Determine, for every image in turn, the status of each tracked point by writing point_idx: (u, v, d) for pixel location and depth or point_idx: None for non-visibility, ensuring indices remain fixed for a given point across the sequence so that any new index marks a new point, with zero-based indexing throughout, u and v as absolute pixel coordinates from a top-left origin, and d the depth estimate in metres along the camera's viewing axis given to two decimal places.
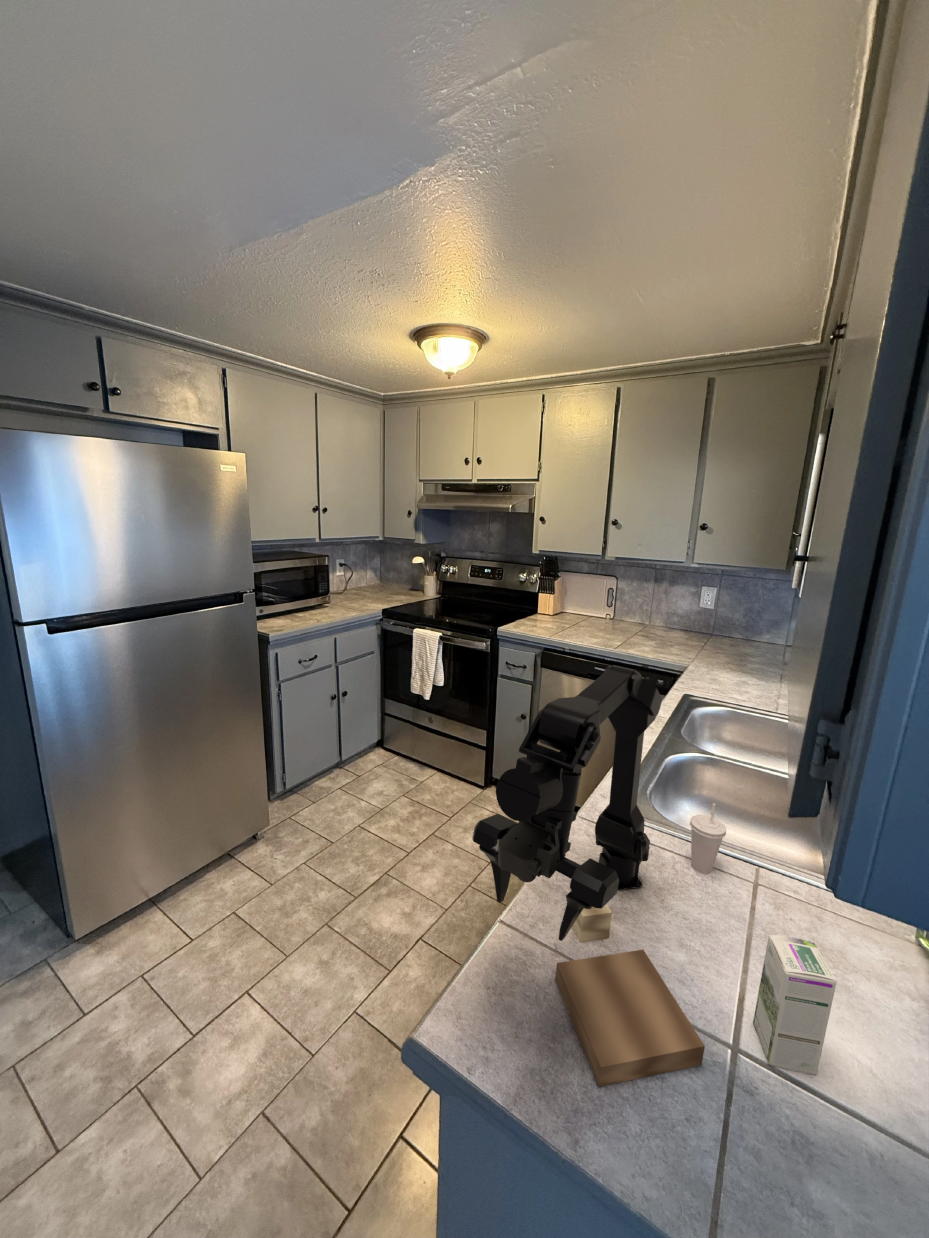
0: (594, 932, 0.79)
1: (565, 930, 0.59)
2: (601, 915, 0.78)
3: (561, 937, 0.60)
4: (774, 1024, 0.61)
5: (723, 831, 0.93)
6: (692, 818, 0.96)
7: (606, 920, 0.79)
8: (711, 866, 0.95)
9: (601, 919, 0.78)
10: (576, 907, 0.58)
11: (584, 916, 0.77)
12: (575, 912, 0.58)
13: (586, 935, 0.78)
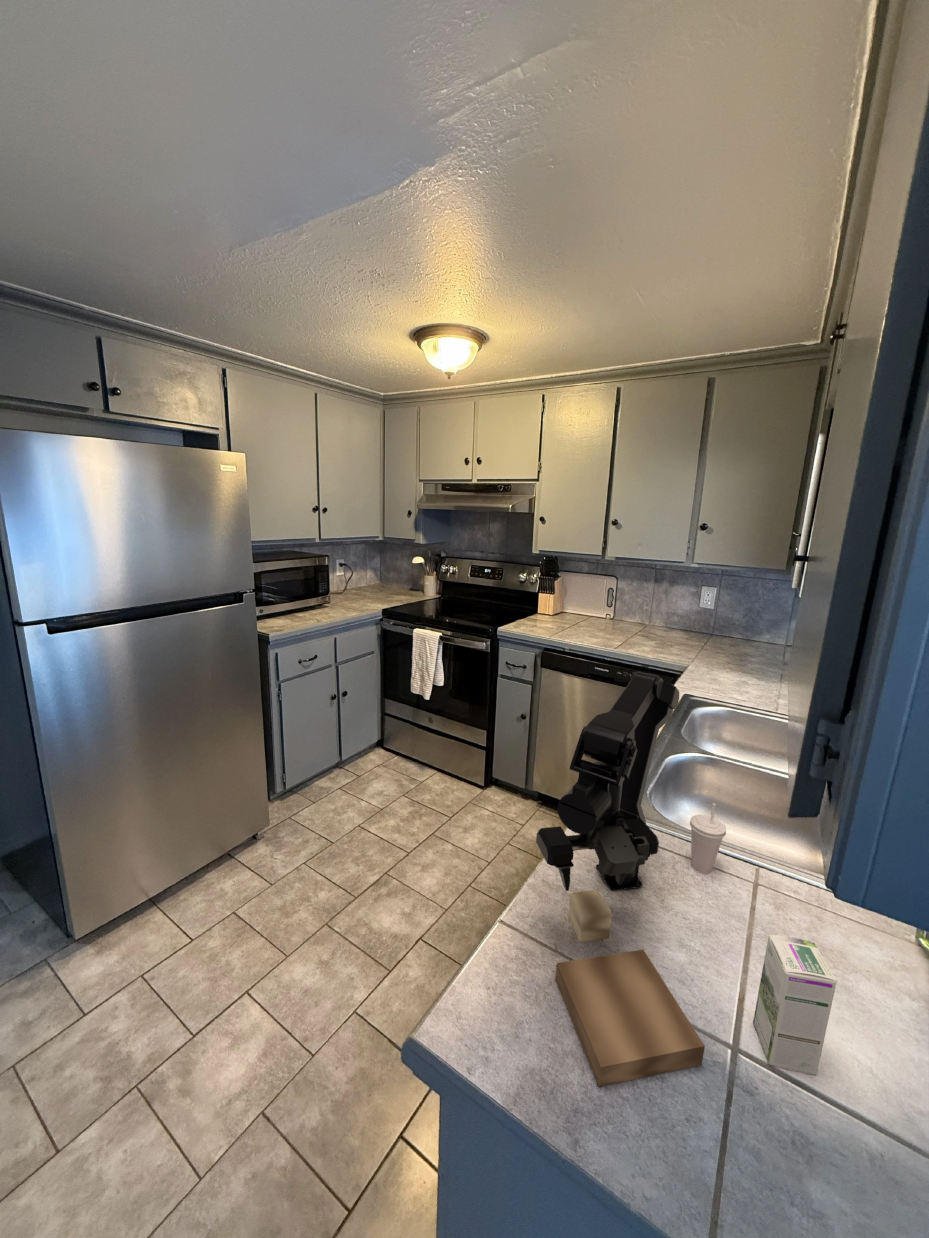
0: (594, 932, 0.79)
1: (625, 876, 0.80)
2: (601, 914, 0.78)
3: (621, 882, 0.80)
4: (774, 1024, 0.61)
5: (723, 831, 0.93)
6: (692, 818, 0.96)
7: (606, 920, 0.79)
8: (711, 866, 0.95)
9: (601, 919, 0.78)
10: None
11: (584, 916, 0.77)
12: None
13: (586, 935, 0.78)
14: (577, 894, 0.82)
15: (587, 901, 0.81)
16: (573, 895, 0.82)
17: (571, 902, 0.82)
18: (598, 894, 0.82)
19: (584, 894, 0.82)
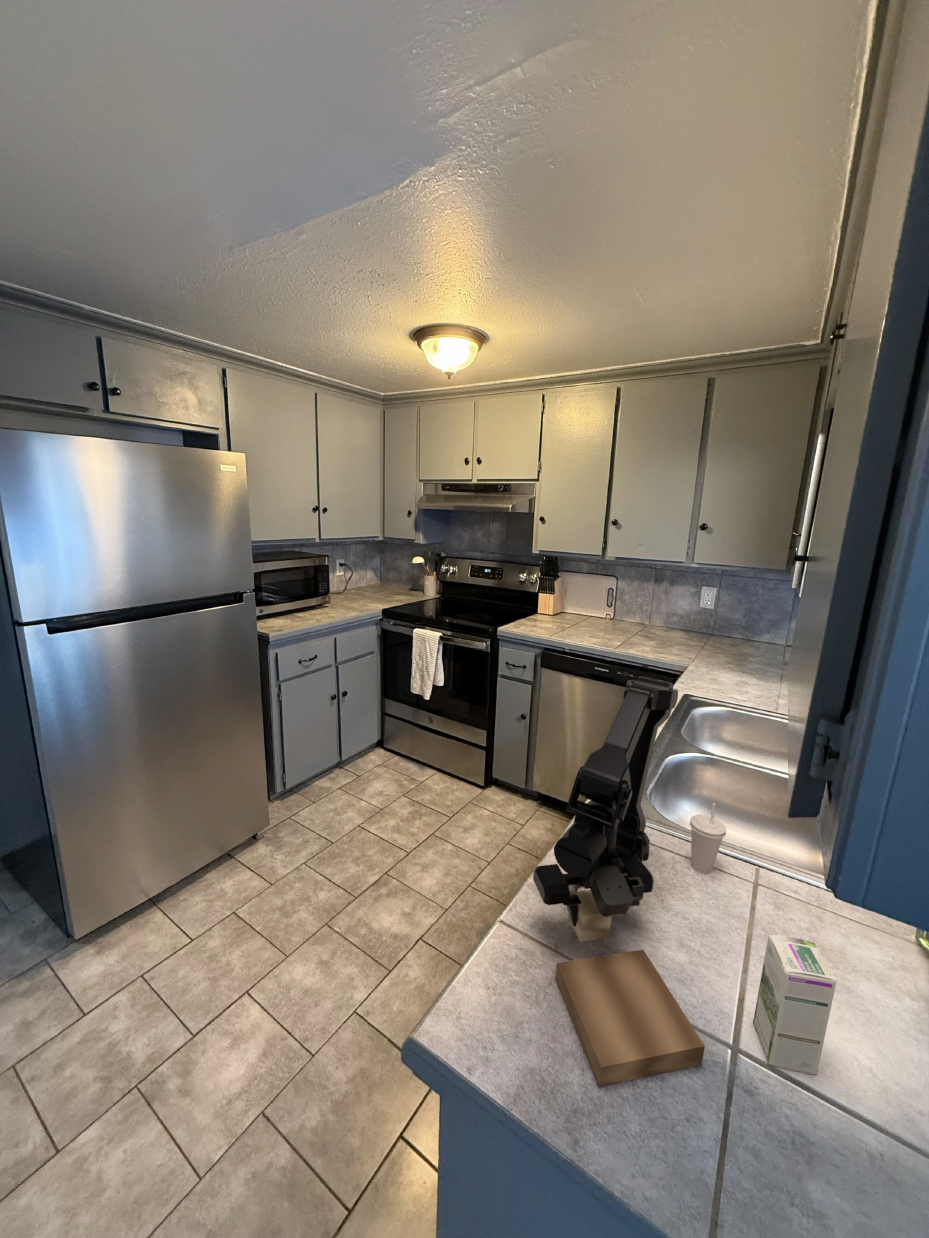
0: (594, 932, 0.79)
1: None
2: None
3: None
4: (774, 1024, 0.61)
5: (723, 831, 0.93)
6: (692, 818, 0.96)
7: (606, 920, 0.78)
8: (711, 866, 0.95)
9: (601, 919, 0.78)
10: None
11: (584, 915, 0.77)
12: None
13: (586, 934, 0.78)
14: (577, 893, 0.82)
15: (587, 900, 0.81)
16: None
17: None
18: None
19: (584, 894, 0.82)
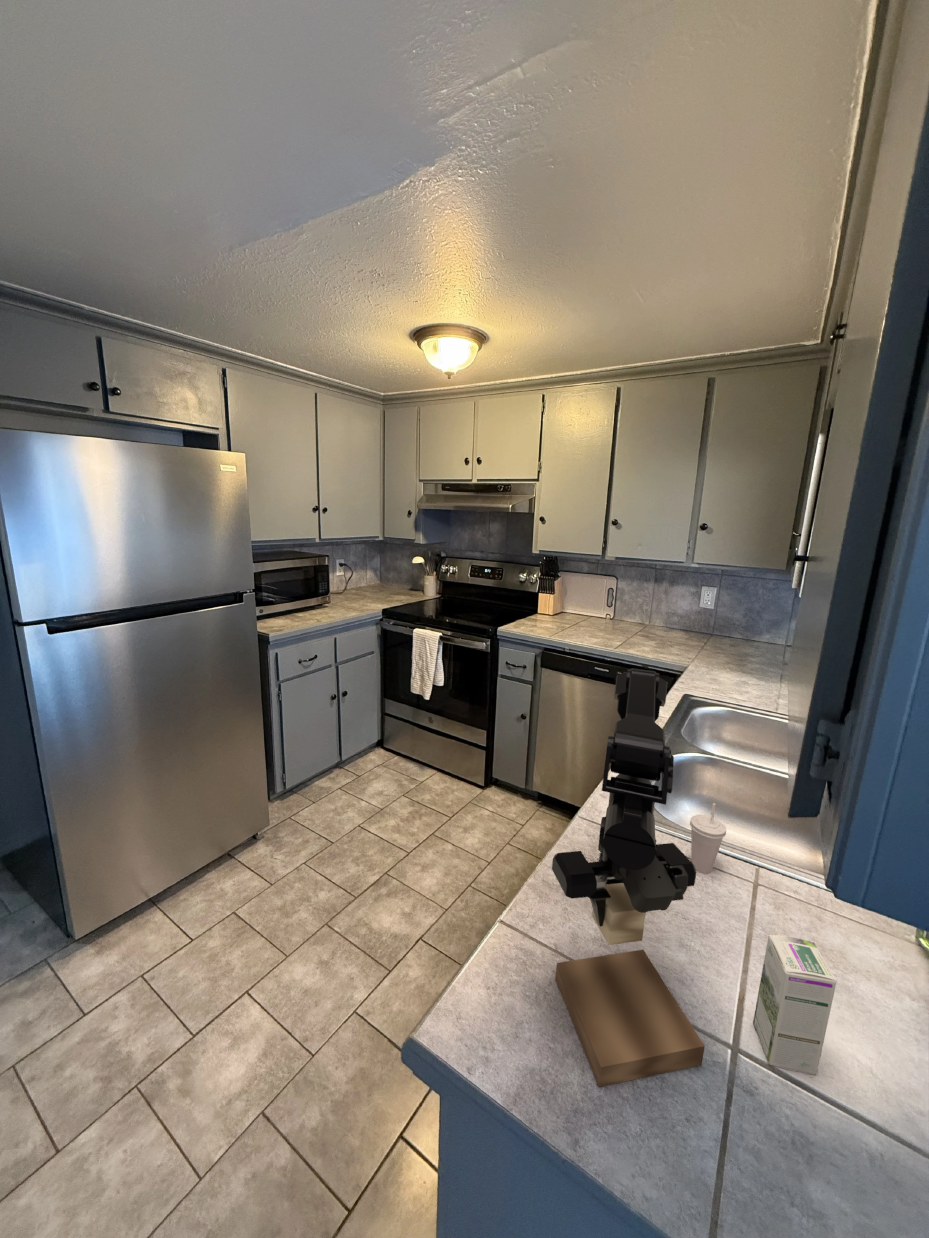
0: (625, 933, 0.66)
1: None
2: (634, 911, 0.65)
3: None
4: (774, 1024, 0.61)
5: (723, 831, 0.93)
6: (692, 818, 0.96)
7: (639, 918, 0.66)
8: (711, 866, 0.95)
9: (633, 917, 0.65)
10: None
11: (614, 912, 0.65)
12: None
13: (615, 936, 0.66)
14: None
15: (616, 895, 0.68)
16: None
17: None
18: None
19: (612, 887, 0.69)
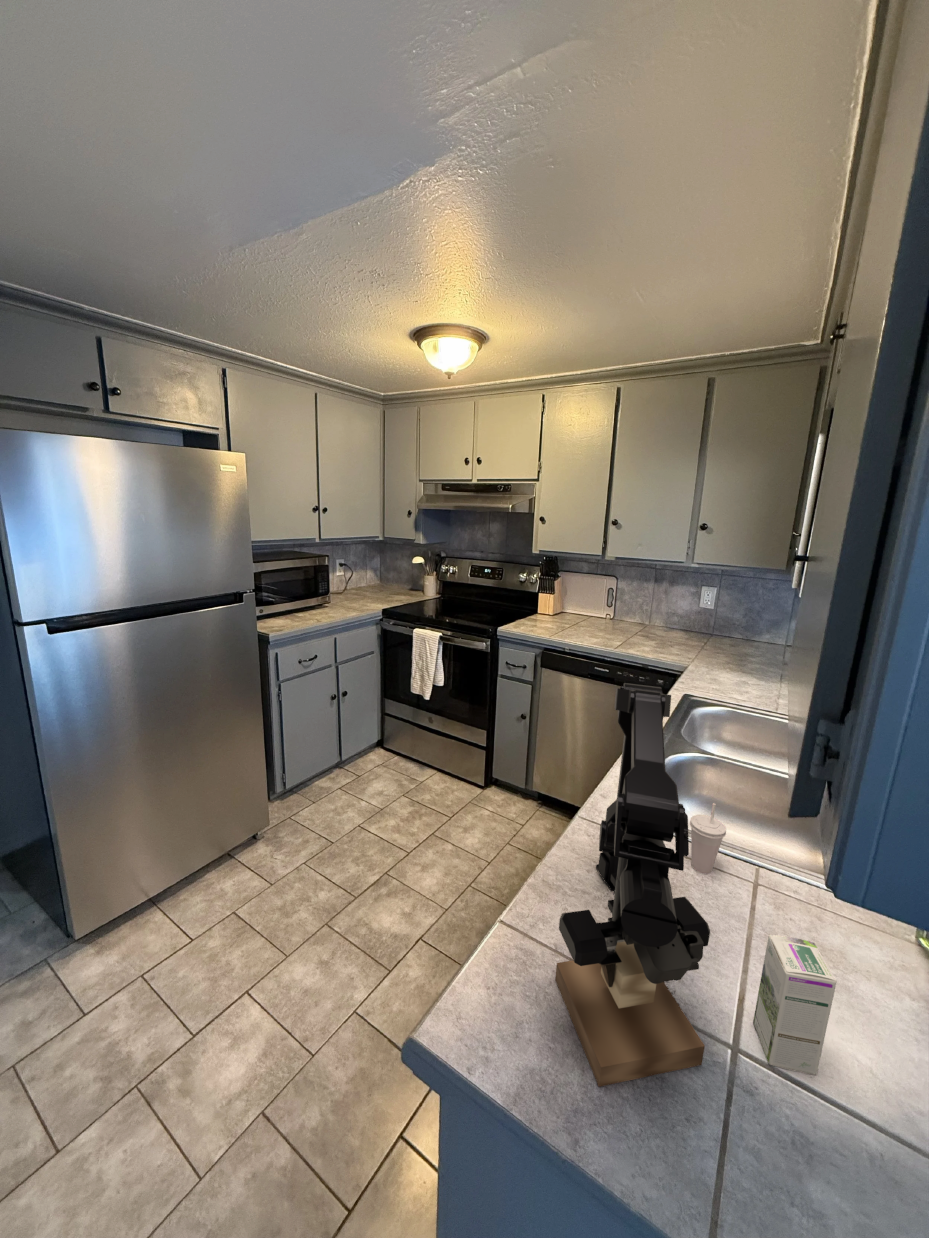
0: (636, 995, 0.63)
1: None
2: None
3: None
4: (774, 1024, 0.61)
5: (723, 831, 0.93)
6: (692, 818, 0.96)
7: None
8: (711, 866, 0.95)
9: (645, 979, 0.62)
10: None
11: (625, 976, 0.62)
12: None
13: (626, 999, 0.63)
14: None
15: (626, 954, 0.65)
16: None
17: None
18: None
19: (621, 945, 0.66)
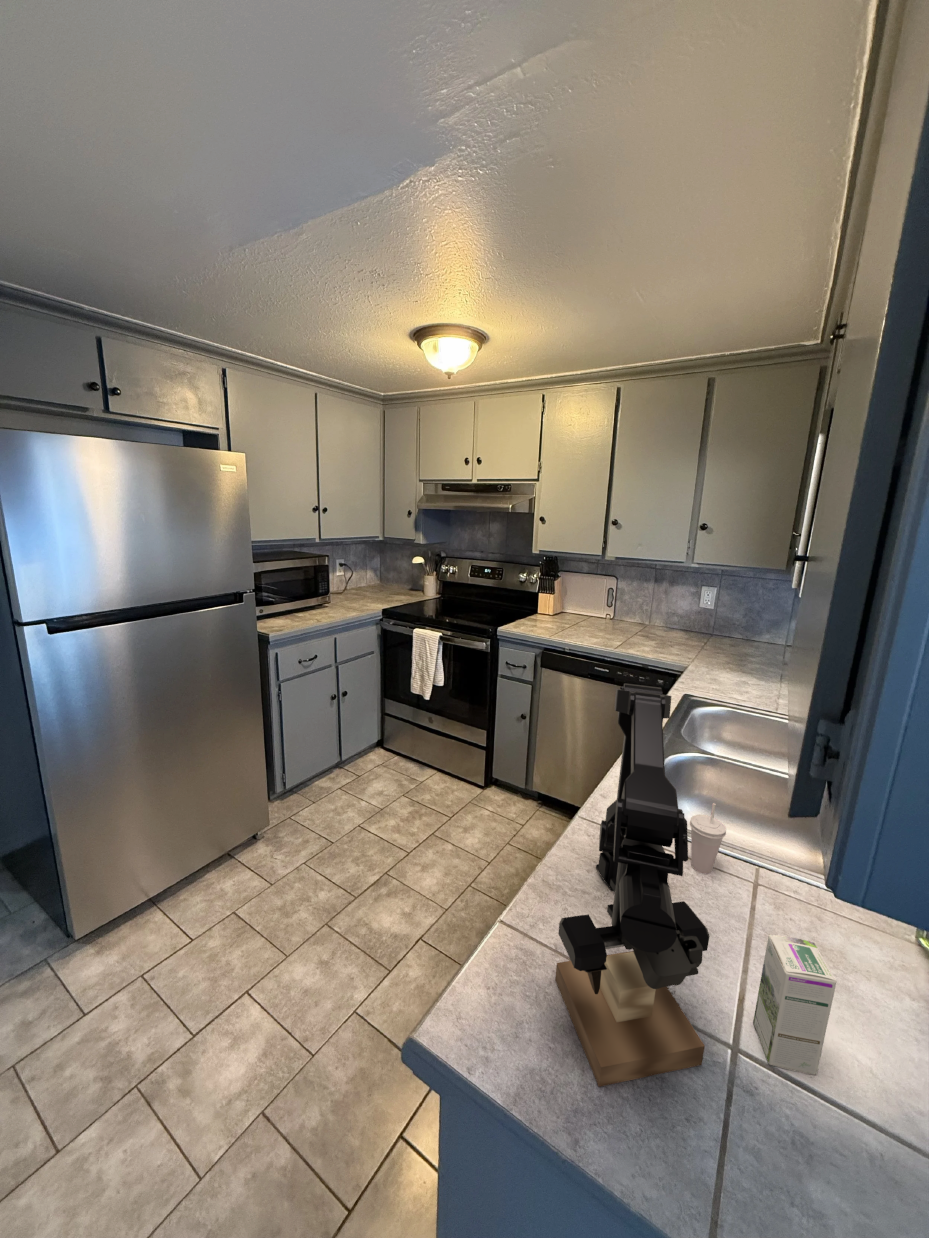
0: (634, 1009, 0.63)
1: None
2: (643, 988, 0.63)
3: None
4: (774, 1024, 0.61)
5: (723, 831, 0.93)
6: (692, 818, 0.96)
7: (649, 994, 0.63)
8: (711, 866, 0.95)
9: (643, 994, 0.63)
10: None
11: (623, 990, 0.62)
12: None
13: (624, 1013, 0.63)
14: (611, 958, 0.67)
15: (624, 968, 0.65)
16: (607, 960, 0.66)
17: None
18: None
19: (620, 958, 0.67)
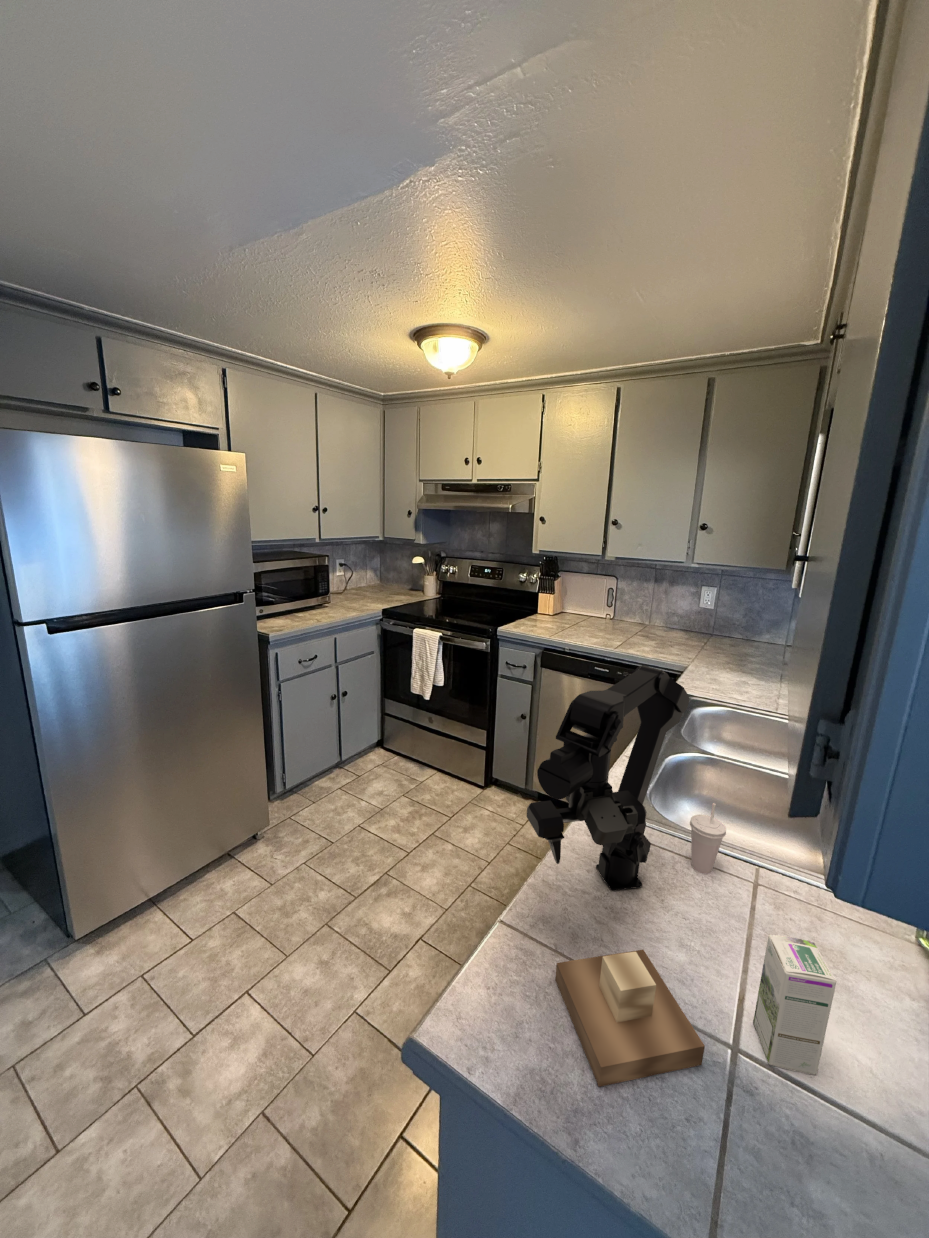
0: (634, 1009, 0.63)
1: (614, 847, 0.81)
2: (643, 988, 0.63)
3: (610, 853, 0.81)
4: (774, 1024, 0.61)
5: (723, 831, 0.93)
6: (692, 818, 0.96)
7: (649, 994, 0.63)
8: (711, 866, 0.95)
9: (643, 994, 0.63)
10: None
11: (623, 990, 0.62)
12: None
13: (624, 1013, 0.63)
14: (611, 958, 0.67)
15: (624, 968, 0.65)
16: (607, 960, 0.66)
17: (603, 969, 0.66)
18: (637, 958, 0.67)
19: (620, 958, 0.67)
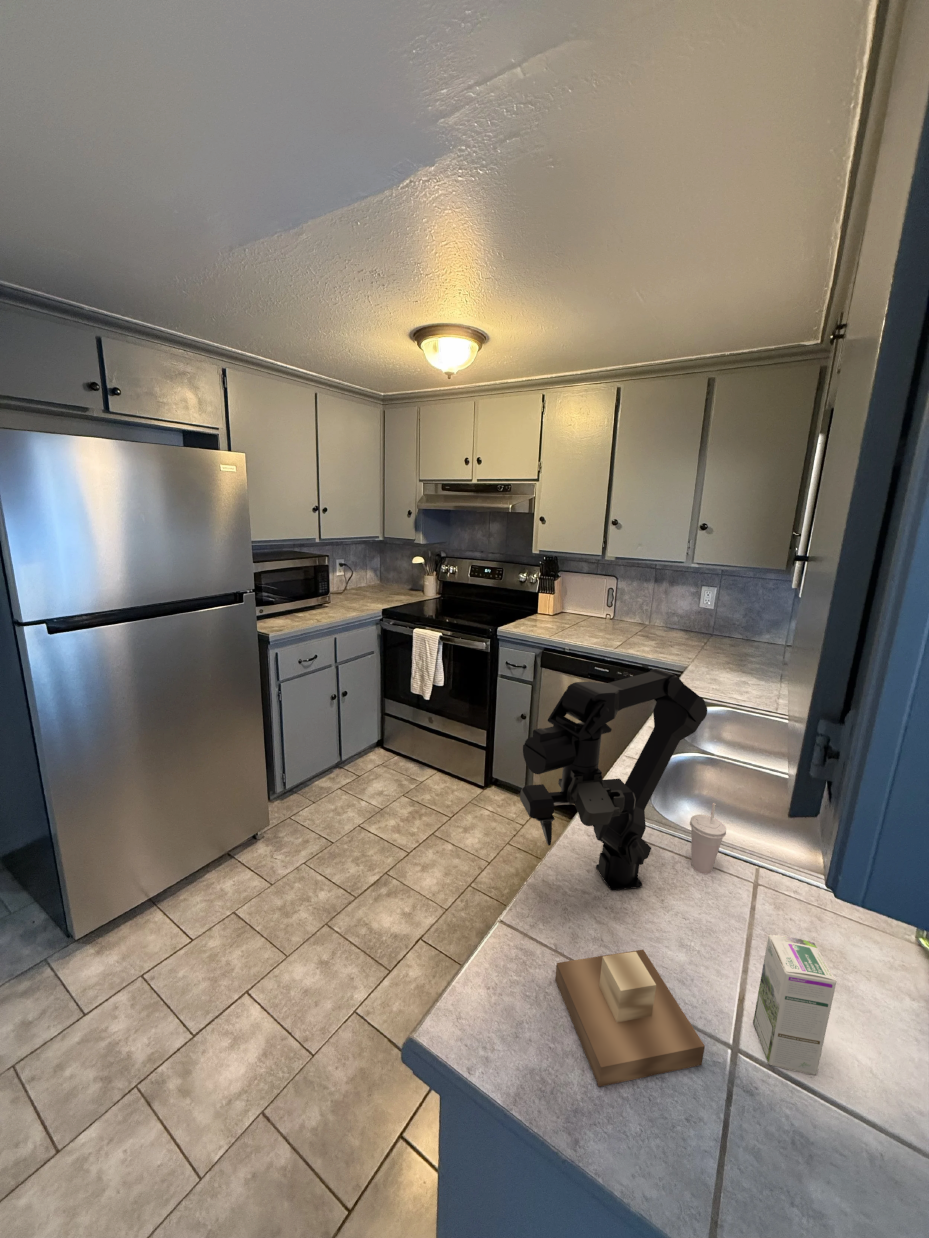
0: (634, 1009, 0.63)
1: (604, 832, 0.84)
2: (643, 988, 0.63)
3: (600, 838, 0.85)
4: (774, 1024, 0.61)
5: (723, 831, 0.93)
6: (692, 818, 0.96)
7: (649, 994, 0.63)
8: (711, 866, 0.95)
9: (643, 994, 0.63)
10: (615, 815, 0.83)
11: (623, 990, 0.62)
12: (612, 818, 0.83)
13: (624, 1013, 0.63)
14: (611, 958, 0.67)
15: (624, 968, 0.65)
16: (607, 960, 0.66)
17: (603, 969, 0.66)
18: (637, 958, 0.67)
19: (620, 958, 0.67)
